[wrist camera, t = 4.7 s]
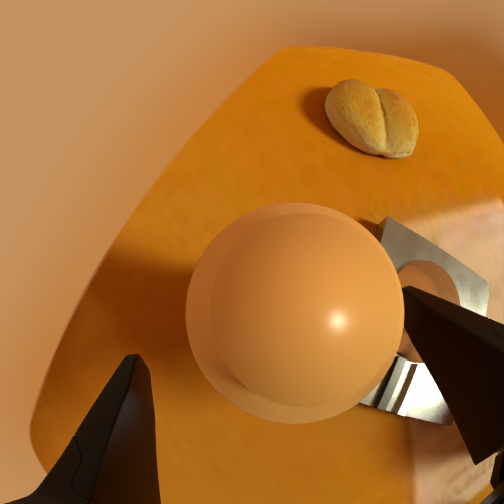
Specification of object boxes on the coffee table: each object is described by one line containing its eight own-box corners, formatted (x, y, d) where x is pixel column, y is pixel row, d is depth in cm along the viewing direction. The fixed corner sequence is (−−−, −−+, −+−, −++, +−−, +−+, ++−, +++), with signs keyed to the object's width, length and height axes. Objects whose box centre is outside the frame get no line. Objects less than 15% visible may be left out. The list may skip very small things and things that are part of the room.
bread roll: (321, 88, 23) (331, 57, 19) (400, 111, 23) (416, 86, 19) (322, 147, 20) (336, 114, 17) (415, 173, 20) (438, 148, 17)
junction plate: (439, 422, 14) (453, 426, 12) (316, 385, 15) (325, 391, 13) (479, 287, 18) (493, 282, 16) (378, 224, 18) (390, 214, 17)
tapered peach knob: (277, 378, 15) (369, 478, 3) (202, 343, 16) (105, 371, 4) (311, 306, 17) (454, 242, 5) (239, 271, 17) (242, 132, 5)
